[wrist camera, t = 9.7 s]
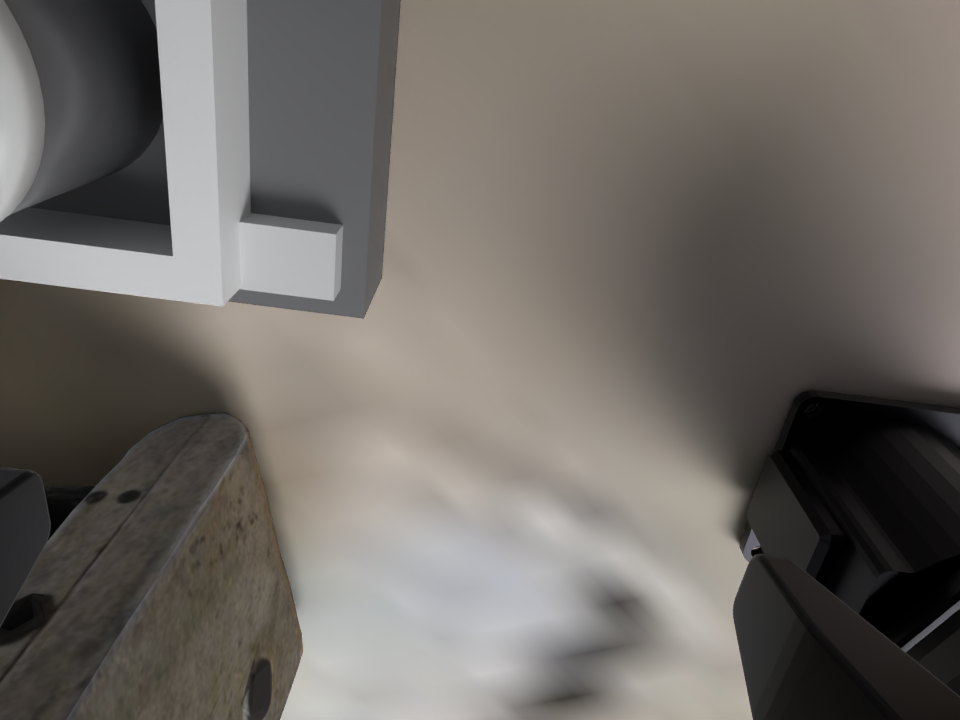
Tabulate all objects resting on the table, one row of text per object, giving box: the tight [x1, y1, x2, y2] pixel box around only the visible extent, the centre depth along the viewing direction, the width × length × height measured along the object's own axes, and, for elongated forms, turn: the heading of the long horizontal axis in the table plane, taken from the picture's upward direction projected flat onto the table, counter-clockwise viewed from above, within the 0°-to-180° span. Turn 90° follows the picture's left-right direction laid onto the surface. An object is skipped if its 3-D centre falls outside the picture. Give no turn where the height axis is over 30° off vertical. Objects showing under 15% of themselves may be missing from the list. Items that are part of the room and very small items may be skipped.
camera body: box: [0, 0, 401, 318], centre depth 15 cm, size 14×10×5 cm
